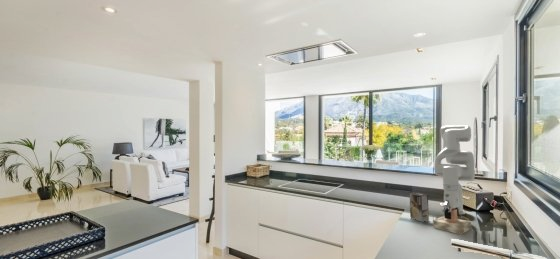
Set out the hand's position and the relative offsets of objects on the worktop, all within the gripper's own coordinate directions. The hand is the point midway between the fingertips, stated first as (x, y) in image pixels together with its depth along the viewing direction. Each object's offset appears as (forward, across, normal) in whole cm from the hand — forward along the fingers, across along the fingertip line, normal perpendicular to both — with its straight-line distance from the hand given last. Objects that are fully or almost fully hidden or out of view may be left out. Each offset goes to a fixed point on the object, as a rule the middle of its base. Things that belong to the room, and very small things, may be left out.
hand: (451, 217), depth 147 cm
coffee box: (+6, 0, +19) cm, 20 cm away
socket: (+6, 0, 0) cm, 6 cm away
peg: (+6, 0, 0) cm, 6 cm away
